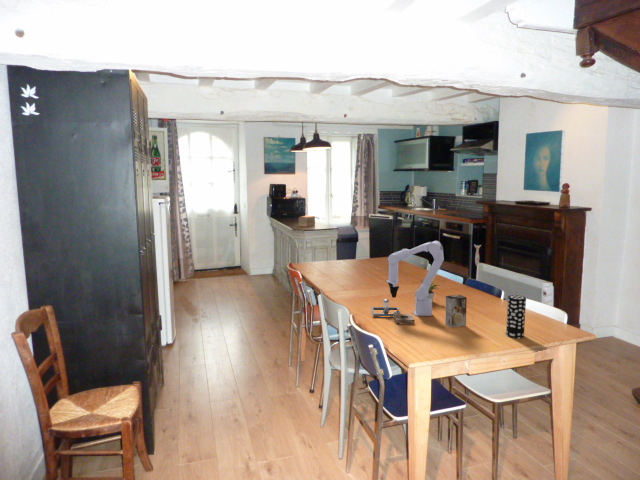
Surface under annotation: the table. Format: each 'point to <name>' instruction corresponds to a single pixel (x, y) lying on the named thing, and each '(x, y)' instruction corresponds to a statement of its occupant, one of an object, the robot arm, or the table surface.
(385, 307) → the pin
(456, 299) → the coffee box
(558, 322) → the table surface
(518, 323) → the white-spotted black cylinder
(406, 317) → the pin block
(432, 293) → the house plant
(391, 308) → the tray
